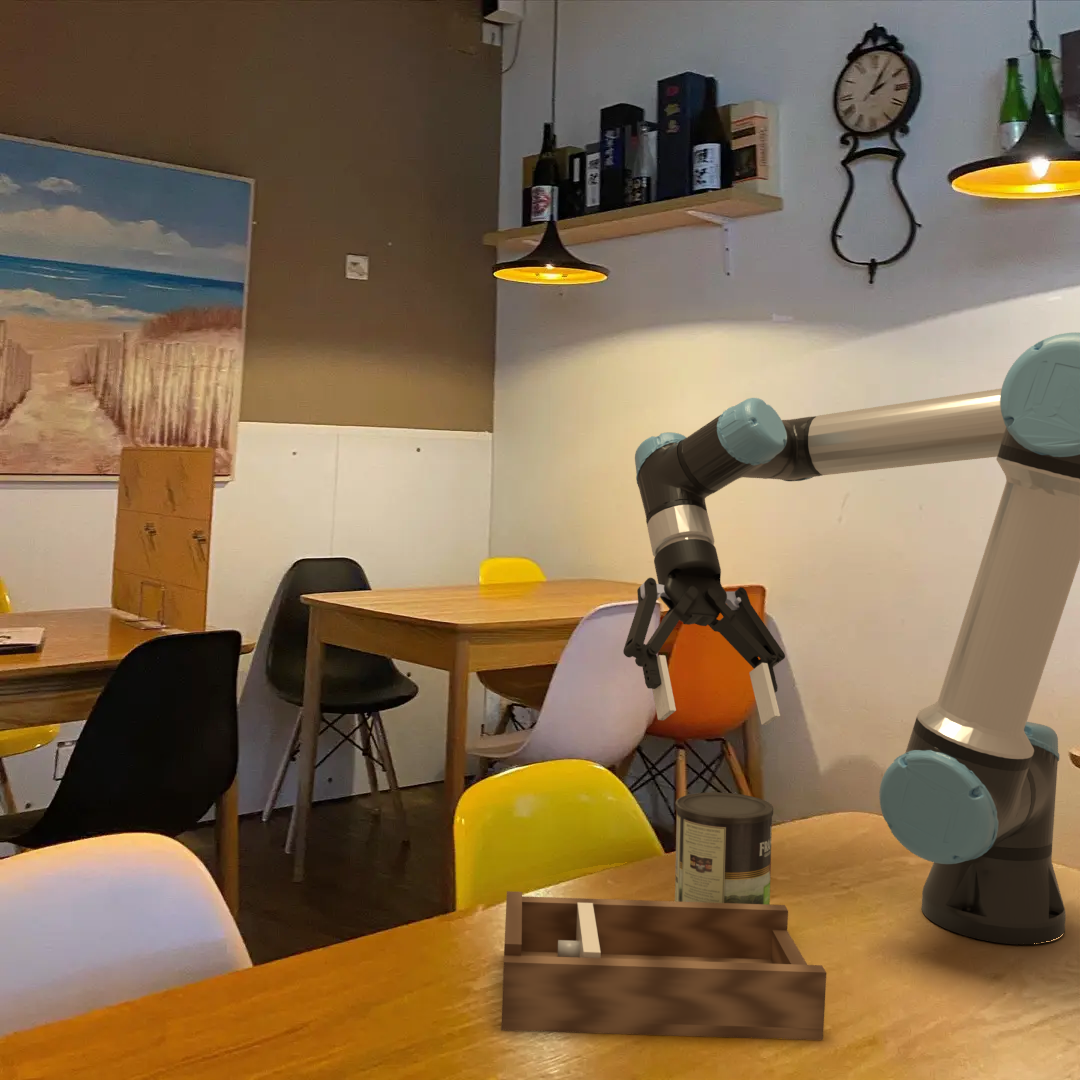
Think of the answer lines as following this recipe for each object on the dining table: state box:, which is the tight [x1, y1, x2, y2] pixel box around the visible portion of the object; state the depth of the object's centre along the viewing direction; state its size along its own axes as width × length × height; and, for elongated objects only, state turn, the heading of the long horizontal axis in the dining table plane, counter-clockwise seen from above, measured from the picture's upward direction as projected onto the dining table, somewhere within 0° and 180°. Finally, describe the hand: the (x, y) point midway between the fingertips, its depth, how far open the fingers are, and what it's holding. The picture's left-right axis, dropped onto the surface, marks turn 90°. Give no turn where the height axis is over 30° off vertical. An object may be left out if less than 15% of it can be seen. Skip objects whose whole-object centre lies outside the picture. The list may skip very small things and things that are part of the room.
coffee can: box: [674, 791, 774, 905], centre depth 122 cm, size 10×10×14 cm
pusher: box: [557, 903, 601, 958], centre depth 107 cm, size 4×12×5 cm, turn 1°
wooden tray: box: [500, 891, 827, 1041], centre depth 107 cm, size 28×16×7 cm, turn 91°
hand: (720, 718), depth 127 cm, fingers open, 13 cm apart
